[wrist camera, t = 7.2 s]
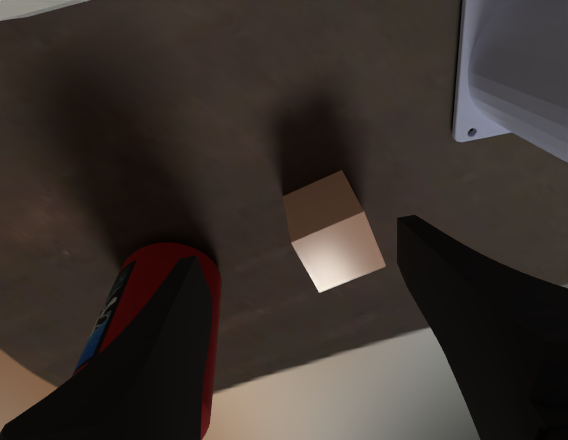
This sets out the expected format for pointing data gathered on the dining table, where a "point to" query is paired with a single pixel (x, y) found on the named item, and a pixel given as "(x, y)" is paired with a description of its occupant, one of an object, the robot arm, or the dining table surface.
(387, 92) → the dining table surface
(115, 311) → the beverage can
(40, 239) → the dining table surface
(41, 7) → the grey slab
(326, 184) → the terracotta block
